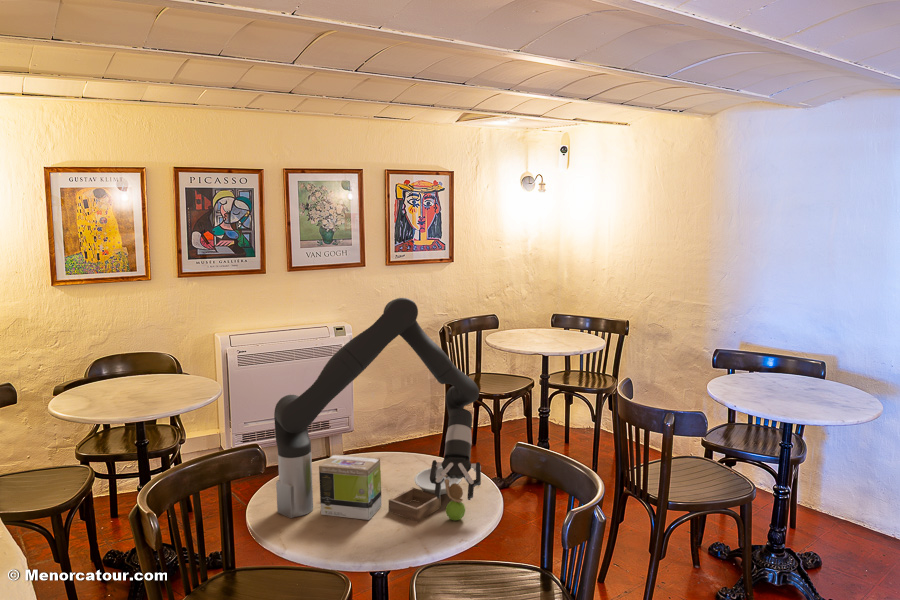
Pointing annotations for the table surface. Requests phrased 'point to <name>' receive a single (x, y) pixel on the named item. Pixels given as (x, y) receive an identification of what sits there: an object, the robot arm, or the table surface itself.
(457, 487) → the snail figurine
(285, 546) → the table surface
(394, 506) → the brown wooden square tray
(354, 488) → the tea box
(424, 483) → the dish
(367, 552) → the table surface
